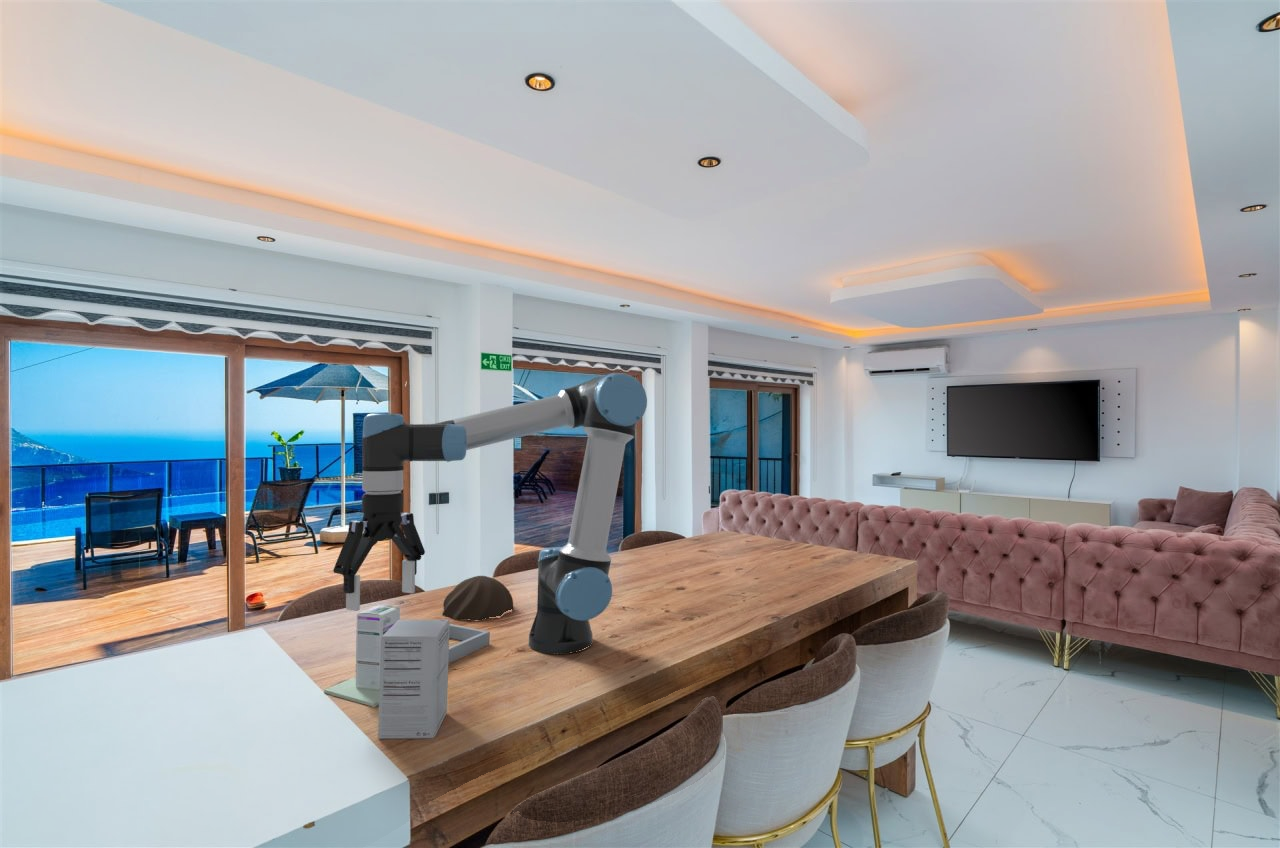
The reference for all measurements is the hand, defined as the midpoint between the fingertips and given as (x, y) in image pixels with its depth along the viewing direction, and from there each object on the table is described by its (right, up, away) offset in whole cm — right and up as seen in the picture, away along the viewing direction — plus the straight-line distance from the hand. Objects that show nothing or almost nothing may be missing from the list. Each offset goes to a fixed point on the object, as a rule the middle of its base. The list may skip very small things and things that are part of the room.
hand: (382, 600), depth 120 cm
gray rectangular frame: (+3, -17, +18) cm, 25 cm away
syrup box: (-1, -16, 0) cm, 16 cm away
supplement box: (+12, -17, -16) cm, 26 cm away
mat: (-1, -17, 0) cm, 17 cm away
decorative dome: (+5, -18, +53) cm, 56 cm away
